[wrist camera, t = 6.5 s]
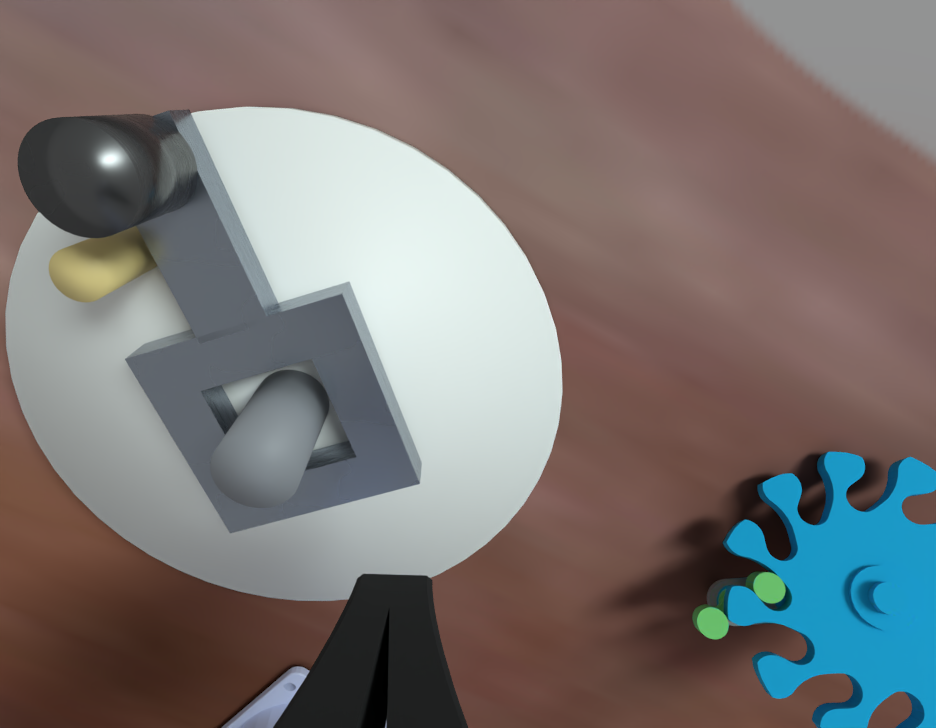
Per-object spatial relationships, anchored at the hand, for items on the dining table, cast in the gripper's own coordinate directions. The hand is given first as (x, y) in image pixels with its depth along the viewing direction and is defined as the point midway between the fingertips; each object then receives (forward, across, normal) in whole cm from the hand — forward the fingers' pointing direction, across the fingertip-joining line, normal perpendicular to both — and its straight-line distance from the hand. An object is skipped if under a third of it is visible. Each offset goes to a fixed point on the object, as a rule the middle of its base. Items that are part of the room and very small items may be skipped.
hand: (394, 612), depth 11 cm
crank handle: (+9, +5, -2) cm, 10 cm away
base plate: (+10, +4, 0) cm, 11 cm away
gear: (+10, -16, +6) cm, 19 cm away
